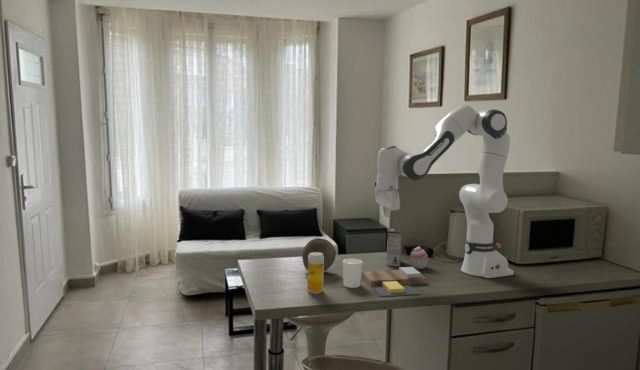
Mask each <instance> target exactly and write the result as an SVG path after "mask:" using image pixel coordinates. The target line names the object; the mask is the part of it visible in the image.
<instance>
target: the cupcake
mask: <svg viewBox="0 0 640 370" xmlns="http://www.w3.org/2000/svg"><path fill="white" fill-rule="evenodd" d="M428 256H429V255H428V253H427V251H425V250H424V249H422V248H421V246H420V245H419V246H417V247H415V248H414V249H413V250H412V251H411V252H410V255H409V256H408V259H409V263H410V267H413V268H414V269H416V270H425V269H426V266H427V264H428V261H429V259H430V258H429V257H428Z"/></svg>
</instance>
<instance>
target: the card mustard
mask: <svg viewBox="0 0 640 370" xmlns="http://www.w3.org/2000/svg"><path fill="white" fill-rule="evenodd" d="M382 286H383V287H384V288H385V289H386V290H387V291H388V292H389V293H402V292H405V288H404V287H403V286H401V285H400V284H399V283H398V282H397V281H383V282H382Z"/></svg>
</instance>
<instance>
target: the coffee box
mask: <svg viewBox="0 0 640 370" xmlns="http://www.w3.org/2000/svg"><path fill="white" fill-rule="evenodd" d="M402 235H403V228H401V227H400V228H399V227H388V230H387V235H386V236H387V237H386V238H387V239H386V241H387V242H386V263H385V264H386V266H392V267H400V266H401V256H402V240H403V239H402V238H403V237H402Z"/></svg>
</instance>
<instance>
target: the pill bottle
mask: <svg viewBox="0 0 640 370" xmlns="http://www.w3.org/2000/svg"><path fill="white" fill-rule="evenodd" d="M324 273H325V271H324V256H323V253H320V252H311V253H309V256H308V270H307V291H308V293H309V294H313V295H319V294H321V293H322V292H323V291H324V279H325V278H324Z"/></svg>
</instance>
